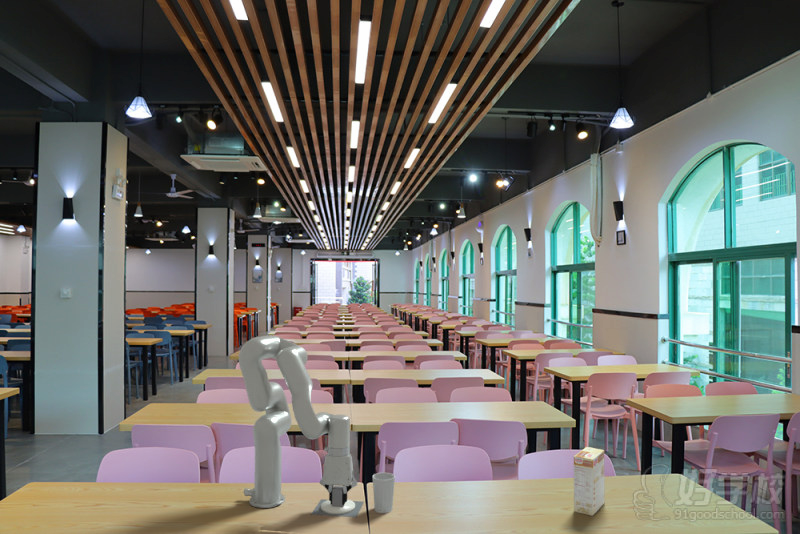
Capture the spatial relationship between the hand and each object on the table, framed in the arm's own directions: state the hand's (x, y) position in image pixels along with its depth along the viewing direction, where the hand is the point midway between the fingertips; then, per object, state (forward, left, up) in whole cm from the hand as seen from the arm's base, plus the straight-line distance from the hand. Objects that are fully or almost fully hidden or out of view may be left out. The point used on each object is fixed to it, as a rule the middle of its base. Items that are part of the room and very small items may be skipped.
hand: (338, 502), depth 202 cm
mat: (0, 0, -2) cm, 2 cm away
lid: (0, 0, -2) cm, 2 cm away
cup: (+16, +1, -2) cm, 16 cm away
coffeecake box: (+89, +15, -2) cm, 90 cm away
